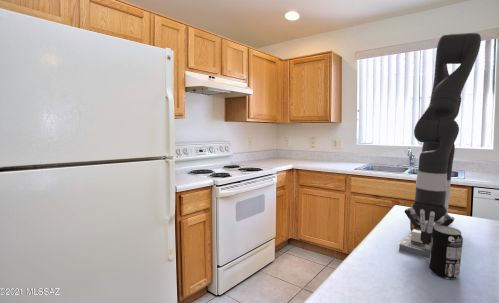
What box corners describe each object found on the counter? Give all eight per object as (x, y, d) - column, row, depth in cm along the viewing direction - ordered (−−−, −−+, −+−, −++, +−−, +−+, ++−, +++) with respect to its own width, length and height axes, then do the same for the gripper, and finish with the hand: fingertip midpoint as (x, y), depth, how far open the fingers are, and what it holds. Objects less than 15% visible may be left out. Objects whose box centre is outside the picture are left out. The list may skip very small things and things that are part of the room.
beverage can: (430, 264, 77) (433, 223, 76) (459, 272, 73) (464, 229, 72) (427, 274, 72) (430, 229, 71) (458, 283, 68) (463, 236, 67)
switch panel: (409, 238, 95) (410, 232, 95) (452, 249, 87) (453, 242, 87) (398, 250, 86) (399, 243, 86) (445, 263, 78) (446, 256, 77)
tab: (413, 238, 90) (413, 229, 90) (423, 240, 88) (424, 231, 88) (411, 240, 88) (411, 231, 88) (421, 243, 86) (422, 233, 86)
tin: (417, 237, 96) (418, 213, 95) (407, 234, 99) (409, 211, 98) (432, 227, 106) (434, 206, 105) (422, 225, 108) (424, 204, 107)
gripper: (460, 188, 79) (455, 246, 81) (409, 181, 88) (405, 233, 90) (456, 193, 74) (450, 255, 76) (402, 185, 83) (398, 240, 85)
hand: (426, 243), depth 83 cm, fingers closed
